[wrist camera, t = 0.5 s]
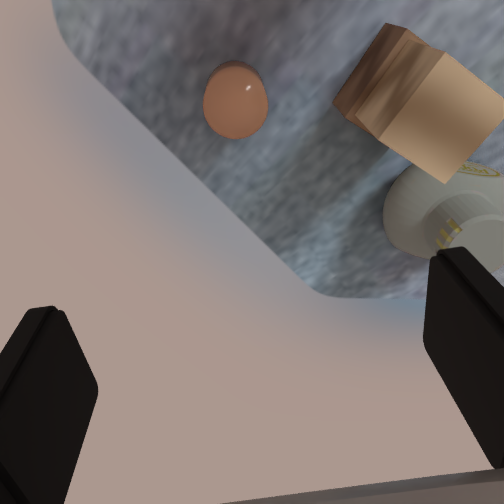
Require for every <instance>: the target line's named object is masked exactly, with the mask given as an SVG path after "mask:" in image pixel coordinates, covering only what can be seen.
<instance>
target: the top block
mask: <svg viewBox="0 0 504 504" xmlns="http://www.w3.org/2000/svg"><path fill="white" fill-rule="evenodd" d="M355 116H356V117H357V118H358V119H359V120H360V121H361V122H362V123H363V124H364V125H365V127H366V128H367V129H368V130H369V131H370V132H371V133H372V134H373V135H374V136H375V137H376V138H377V140H379V141H380V142H382V143H383V144H385V145H386V146H388V147H389V148H391V149H392V150H394V151H395V152H397V153H398V154H400V155H401V156H403V157H404V158H406V159H407V160H409V161H410V162H412V163H413V164H415V165H416V166H418V167H419V168H421V169H422V170H424V171H426V172H427V173H429V174H430V175H432V176H433V177H435V178H436V179H438V180H439V181H441V182H442V183H444V184H446V183H447V181H448V180H449V179H450V178H451V177H452V176H453V175H454V174H455V173H456V171H457V170H458V169H459V168H460V167H461V166H462V165H463V164H464V163H465V161H466V160H467V159H468V158H469V157H470V156H471V155H472V154H473V152H474V151H475V150H476V149H477V148H478V147H479V146H480V145H481V144H482V142H483V141H484V140H485V139H486V138H487V137H488V136H489V135H490V134H491V132H492V131H493V130H494V129H495V128H496V127H497V126H498V125H499V123H500V122H501V121H502V120H503V119H504V98H503V97H501V96H500V95H499V94H497V93H496V92H495V91H494V90H492V89H491V88H490V87H489V86H487V85H486V84H485V83H484V82H482V81H481V80H480V79H479V78H477V77H476V76H475V75H474V74H472V73H471V72H470V71H469V70H467V69H466V68H465V67H464V66H462V65H461V64H460V63H459V62H457V61H456V60H455V59H454V58H452V57H451V56H450V55H449V54H447V53H446V52H444V51H441V50H438V49H435V48H432V47H429V46H426V45H423V44H420V43H417V42H414V41H411V40H409V41H408V42H407V43H406V45H405V46H404V48H403V49H402V50H401V52H400V53H399V54H398V56H397V57H396V59H395V60H394V61H393V63H392V64H391V66H390V67H389V68H388V70H387V71H386V72H385V74H384V75H383V77H382V78H381V79H380V81H379V82H378V84H377V85H376V86H375V88H374V89H373V91H372V92H371V93H370V95H369V96H368V97H367V99H366V100H365V102H364V103H363V104H362V106H361V107H360V109H359V110H358V111H357V113H356V114H355Z"/></svg>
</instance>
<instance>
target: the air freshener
mask: <svg viewBox="0 0 504 504" xmlns="http://www.w3.org/2000/svg"><path fill="white" fill-rule="evenodd" d="M383 225H384V230H385V232H386V235H387V237H388V239H389V240H390V242H391V243H392V244H393V245H394V246H395V247H396V248H398V249H399V250H401V251H404V252H406V253H408V254H411V255H414V256H418V257H421V258H426V259H431V257H432V256H436V254H437V252H438V250H440V249H446V248H453V247H460V246H463V247H465V248H466V249H467V250H468V251H469V252H470V253H471V254H472V255H473V256H474V257H475V258H476V259H477V260H478V261H479V262H480V263H481V264H482V265H483V266H484V267H485V268H486V269H487V270H488V272H489V273H492V272H494V271H495V270H497V269H499V268H500V267H501V266H503V265H504V176H503V174H502V173H500V172H499V171H497V170H495V169H492V168H490V167H487V166H484V165H480V164H477V163H473V162H469V161H465V163H464V164H463V165H462V166H461V167H460V168H459V169H458V170H457V171H456V173H455V174H454V175H453V176H452V177H451V178H450V179H449V180H448V181H447V183H446V184H444V183H442V182H441V181H439V180H438V179H436V178H435V177H433V176H432V175H430V174H429V173H427V172H426V171H424V170H422V169H421V168H419V167H418V166H416V165H415V164H412V165H410V166H409V167H408V168H406V169H405V170H404V171H403V172H402V173H401V174H400V175H399V176H398V178H397V179H396V180H395V182H394V183H393V184H392V186H391V188H390V190H389V192H388V194H387V196H386V199H385V202H384V207H383Z"/></svg>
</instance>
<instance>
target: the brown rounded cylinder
mask: <svg viewBox="0 0 504 504" xmlns="http://www.w3.org/2000/svg"><path fill="white" fill-rule="evenodd" d="M203 111H204V115H205V118H206V120H207V122H208V124H209V125H210V127H211V128H212V129H213V130H214V131H215V132H216V133H218V134H220V135H221V136H223V137H226V138H230V139H241V138H245V137H248V136H250V135H252V134H254V133H255V132H256V131H258V130H259V128H260V127H261V126H262V125H263V123H264V121H265V119H266V116H267V112H268V100H267V96H266V92H265V89H264V86H263V82H262V79H261V77H260V75H259V74H258V72H257V71H256V70H255V69H254V68H253V67H251V66H250V65H248V64H246V63H244V62H240V61H230V62H226V63H223V64H221V65H220V66H218V67H217V68H216V69H215V70H214V71H213V72H212V74H211V75H210V77H209V79H208V82H207V86H206V90H205V95H204V99H203Z"/></svg>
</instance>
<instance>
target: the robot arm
mask: <svg viewBox="0 0 504 504" xmlns="http://www.w3.org/2000/svg"><path fill="white" fill-rule="evenodd" d="M423 342H424V346H425V349H426V351H427V353H428V355H429V357H430V358H431V360H432V362H433V364H434V365H435V367H436V369H437V371H438V373H439V374H440V376H441V377H442V379H443V381H444V383H445V385H446V386H447V388H448V390H449V392H450V394H451V395H452V397H453V399H454V401H455V402H456V404H457V406H458V408H459V409H460V411H461V413H462V414H463V416H464V418H465V420H466V422H467V424H468V425H469V427H470V429H471V431H472V432H473V434H474V436H475V437H476V439H477V441H478V443H479V445H480V446H481V448H482V450H483V452H484V453H485V455H486V457H487V459H488V460H489V462H490V464H491V465H492V466H493V468H494V469H492V470H483V471H475V472H465V473H456V474H447V475H438V476H430V477H422V478H414V479H407V480H399V481H391V482H383V483H375V484H368V485H359V486H352V487H344V488H336V489H328V490H322V491H313V492H305V493H298V494H290V495H283V496H275V497H268V498H260V499H252V500H245V501H237V502H230V503H223V504H504V287H503V286H502V285H501V284H500V283H499V282H498V281H497V280H496V279H495V278H494V277H493V276H492V275H491V274H490V273H489V272H488V270H487V269H486V268H485V267H484V266H483V265H482V264H481V263H480V262H479V261H478V260H477V259H476V258H475V257H474V256H473V255H472V254H471V253H470V252H469V251H468V250H467V249H466V248H465V247H463V246H460V247H453V248H446V249H440V250H438V252H437V254H436V256H432V257H431V259H430V264H429V275H428V286H427V297H426V308H425V321H424V332H423ZM97 396H98V385H97V382H96V380H95V377H94V375H93V373H92V371H91V369H90V367H89V364H88V362H87V360H86V358H85V356H84V353H83V351H82V349H81V347H80V345H79V343H78V340H77V338H76V336H75V334H74V332H73V330H72V327H71V326H70V323H69V321H68V319H67V316H66V315H65V313H64V312H63V311H62V310H58V309H57V308H56V307H55V306H46V307H39V308H32V309H29V310H28V311H27V312H26V313H25V315H24V317H23V318H22V320H21V321H20V323H19V325H18V326H17V328H16V329H15V331H14V333H13V334H12V336H11V337H10V339H9V341H8V342H7V344H6V345H5V347H4V349H3V350H2V352H1V353H0V504H64V501H65V498H66V495H67V492H68V489H69V486H70V482H71V479H72V476H73V473H74V470H75V466H76V463H77V460H78V457H79V454H80V451H81V448H82V444H83V441H84V438H85V435H86V432H87V429H88V425H89V422H90V419H91V416H92V413H93V409H94V406H95V403H96V400H97Z"/></svg>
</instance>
